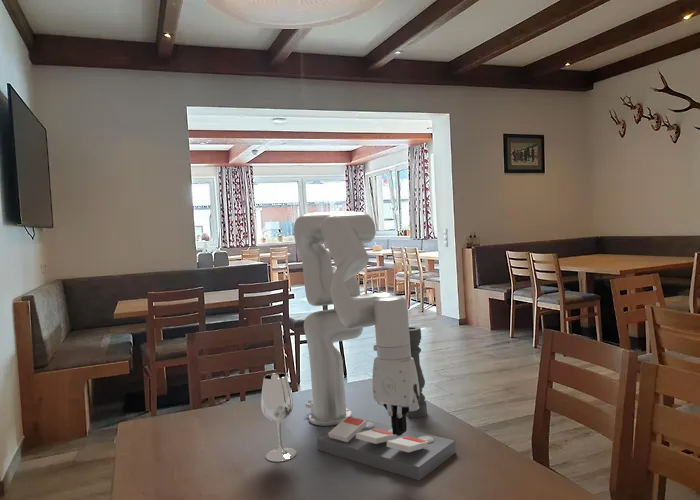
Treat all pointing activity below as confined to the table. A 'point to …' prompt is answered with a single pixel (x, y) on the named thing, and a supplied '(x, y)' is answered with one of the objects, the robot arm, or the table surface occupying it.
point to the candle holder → (415, 350)
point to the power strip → (392, 452)
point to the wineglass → (277, 410)
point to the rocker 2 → (375, 436)
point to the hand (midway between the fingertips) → (399, 432)
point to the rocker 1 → (347, 429)
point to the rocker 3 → (407, 444)
